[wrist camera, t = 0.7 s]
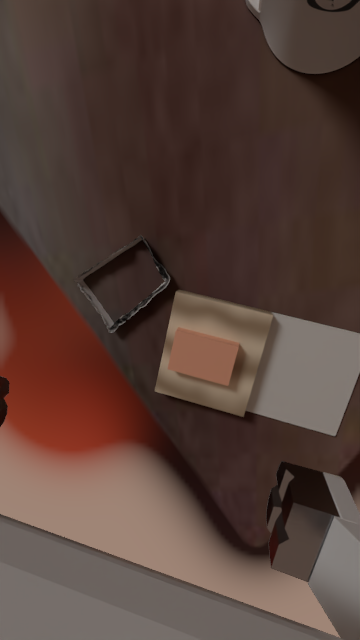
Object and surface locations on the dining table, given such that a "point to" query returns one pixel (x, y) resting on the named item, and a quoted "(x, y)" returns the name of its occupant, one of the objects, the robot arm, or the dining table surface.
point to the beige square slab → (223, 323)
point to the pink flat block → (203, 356)
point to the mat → (306, 374)
